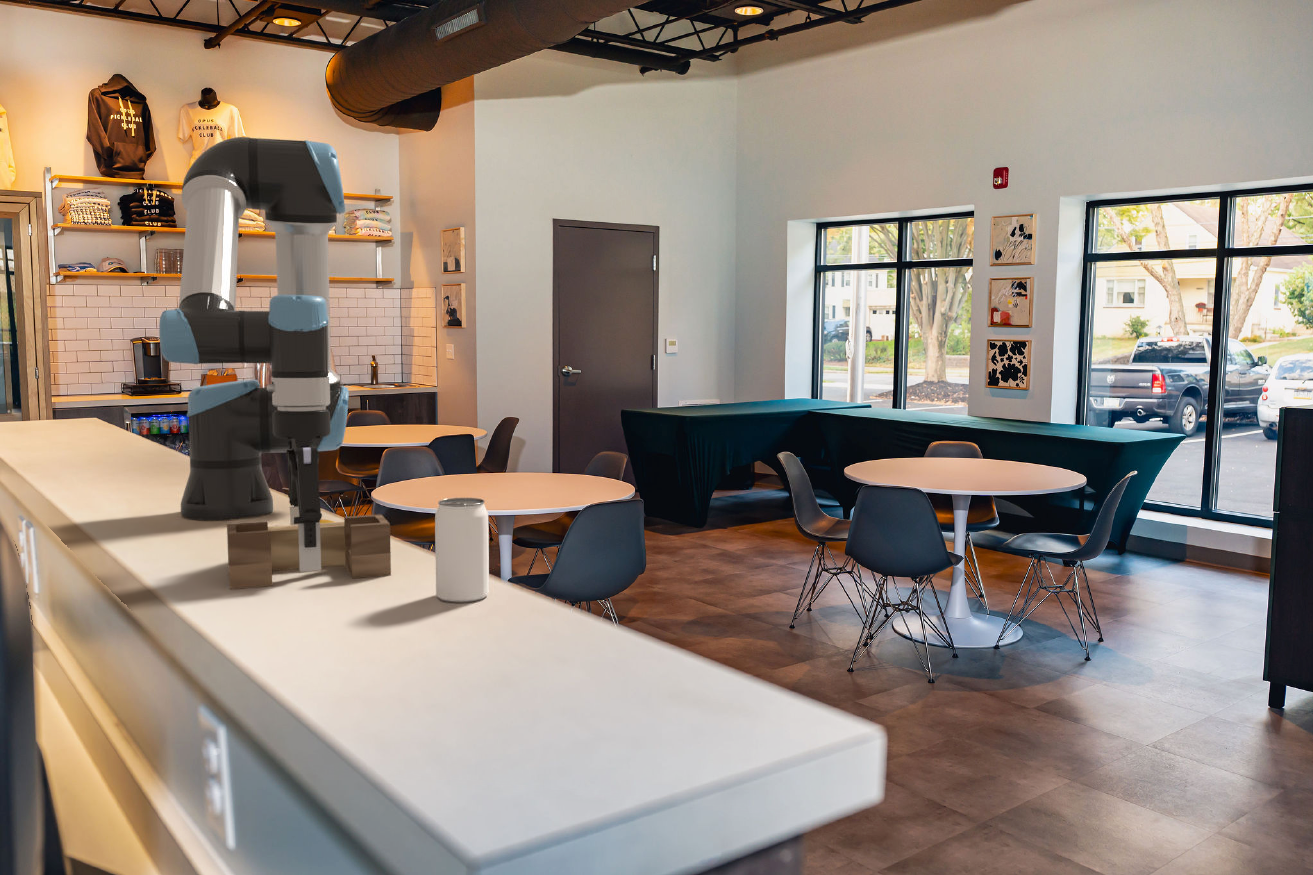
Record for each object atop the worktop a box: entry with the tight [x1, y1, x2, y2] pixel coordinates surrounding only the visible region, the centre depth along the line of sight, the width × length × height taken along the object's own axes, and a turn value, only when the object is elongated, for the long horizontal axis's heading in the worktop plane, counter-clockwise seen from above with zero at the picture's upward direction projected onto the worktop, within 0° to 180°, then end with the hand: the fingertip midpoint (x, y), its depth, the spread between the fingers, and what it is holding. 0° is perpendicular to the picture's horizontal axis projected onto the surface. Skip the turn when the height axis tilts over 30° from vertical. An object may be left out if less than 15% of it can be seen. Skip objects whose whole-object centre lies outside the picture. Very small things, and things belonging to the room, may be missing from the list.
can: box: [434, 497, 490, 604], centre depth 126 cm, size 6×6×12 cm
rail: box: [268, 521, 345, 572], centre depth 143 cm, size 3×16×6 cm, turn 114°
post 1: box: [226, 521, 273, 590], centre depth 134 cm, size 7×5×7 cm
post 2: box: [343, 513, 392, 579], centre depth 140 cm, size 7×5×7 cm
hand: (305, 560), depth 143 cm, fingers open, 13 cm apart
